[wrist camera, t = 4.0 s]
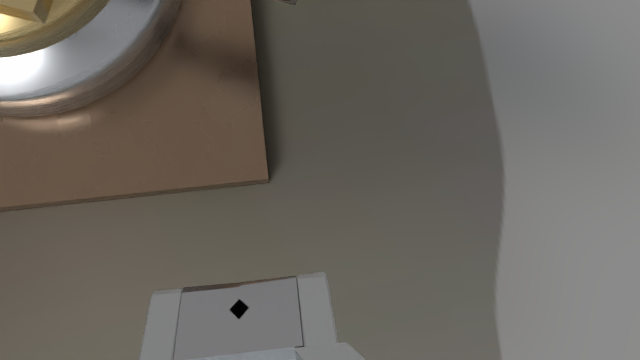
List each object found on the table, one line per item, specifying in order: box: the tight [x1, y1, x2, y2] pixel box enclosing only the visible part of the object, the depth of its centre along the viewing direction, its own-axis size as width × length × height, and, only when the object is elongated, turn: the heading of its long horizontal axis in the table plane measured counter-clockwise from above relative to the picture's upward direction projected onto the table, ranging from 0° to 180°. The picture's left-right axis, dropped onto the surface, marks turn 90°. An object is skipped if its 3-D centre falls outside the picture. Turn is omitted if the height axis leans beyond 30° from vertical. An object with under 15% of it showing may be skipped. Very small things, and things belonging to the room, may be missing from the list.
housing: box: [0, 0, 269, 212], centre depth 26 cm, size 20×18×4 cm
